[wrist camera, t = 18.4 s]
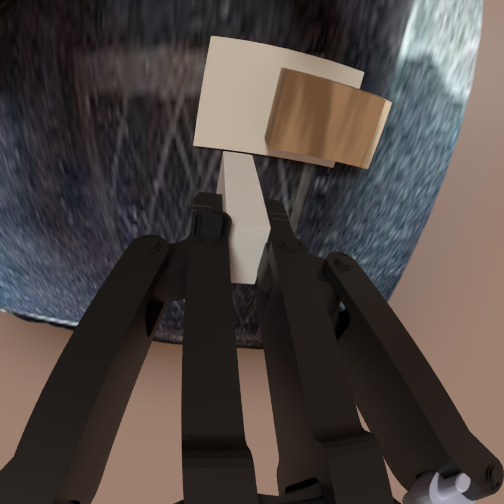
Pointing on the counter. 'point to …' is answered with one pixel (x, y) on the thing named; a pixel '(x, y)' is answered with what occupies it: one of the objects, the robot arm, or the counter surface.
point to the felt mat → (253, 94)
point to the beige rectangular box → (325, 119)
